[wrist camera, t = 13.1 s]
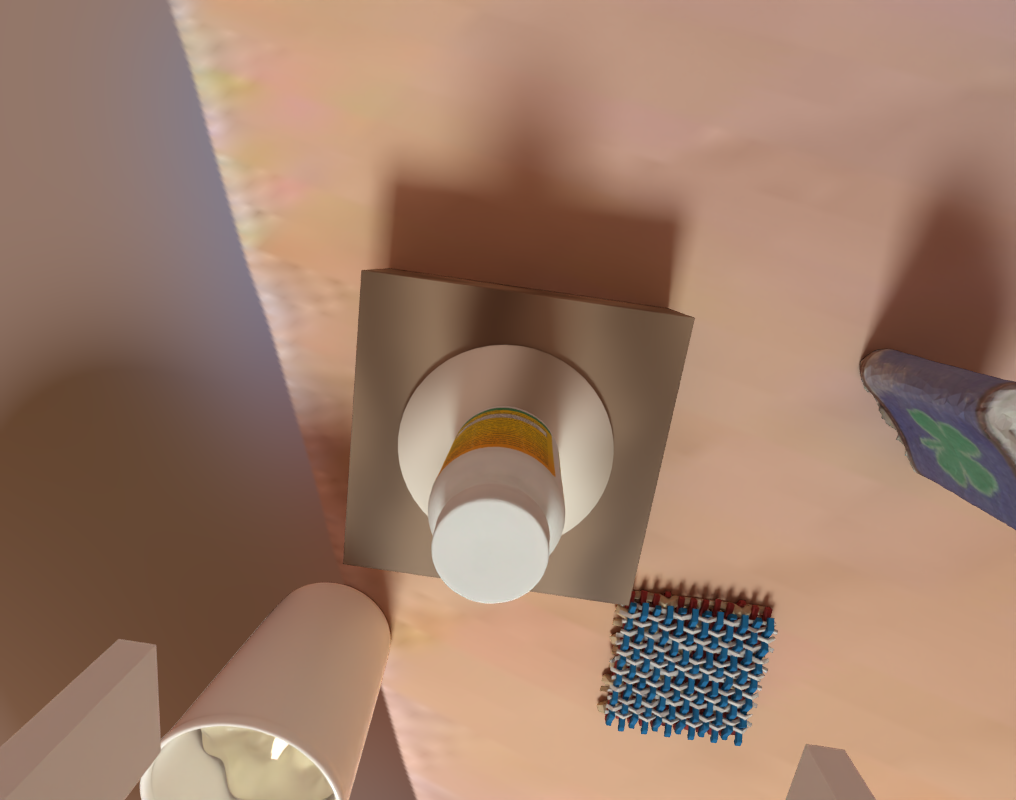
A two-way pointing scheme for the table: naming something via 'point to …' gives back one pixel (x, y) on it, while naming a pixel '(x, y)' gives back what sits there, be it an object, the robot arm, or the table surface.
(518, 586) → the supplement bottle
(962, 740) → the table surface
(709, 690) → the woven mat
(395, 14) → the table surface
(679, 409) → the table surface
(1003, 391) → the flask
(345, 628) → the candle holder
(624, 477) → the walnut plinth
